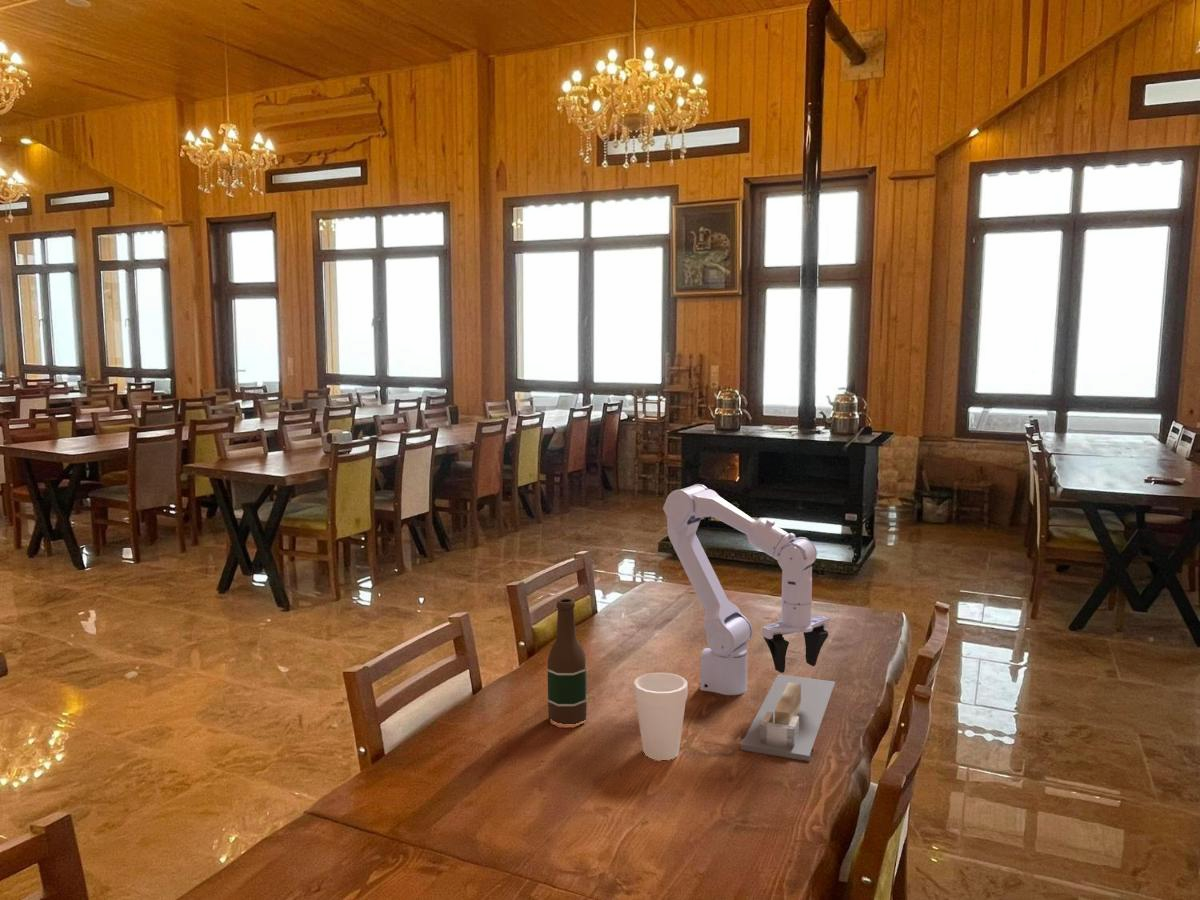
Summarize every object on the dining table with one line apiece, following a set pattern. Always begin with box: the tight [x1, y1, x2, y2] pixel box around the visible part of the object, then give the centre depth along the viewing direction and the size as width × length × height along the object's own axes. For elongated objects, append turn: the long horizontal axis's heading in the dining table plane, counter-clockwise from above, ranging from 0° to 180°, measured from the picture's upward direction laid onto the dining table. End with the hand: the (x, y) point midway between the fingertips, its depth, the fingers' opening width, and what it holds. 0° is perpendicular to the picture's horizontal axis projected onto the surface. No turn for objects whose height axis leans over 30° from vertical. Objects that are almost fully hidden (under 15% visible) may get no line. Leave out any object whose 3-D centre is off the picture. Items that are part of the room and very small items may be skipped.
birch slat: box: [774, 683, 801, 726], centre depth 162 cm, size 2×14×4 cm, turn 158°
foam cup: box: [633, 671, 689, 761], centre depth 151 cm, size 10×9×13 cm
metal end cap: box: [760, 712, 799, 748], centre depth 154 cm, size 6×6×4 cm
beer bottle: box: [546, 598, 588, 724], centre depth 164 cm, size 8×8×24 cm
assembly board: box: [740, 673, 836, 762], centre depth 166 cm, size 12×35×1 cm, turn 158°
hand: (795, 667), depth 168 cm, fingers open, 7 cm apart
